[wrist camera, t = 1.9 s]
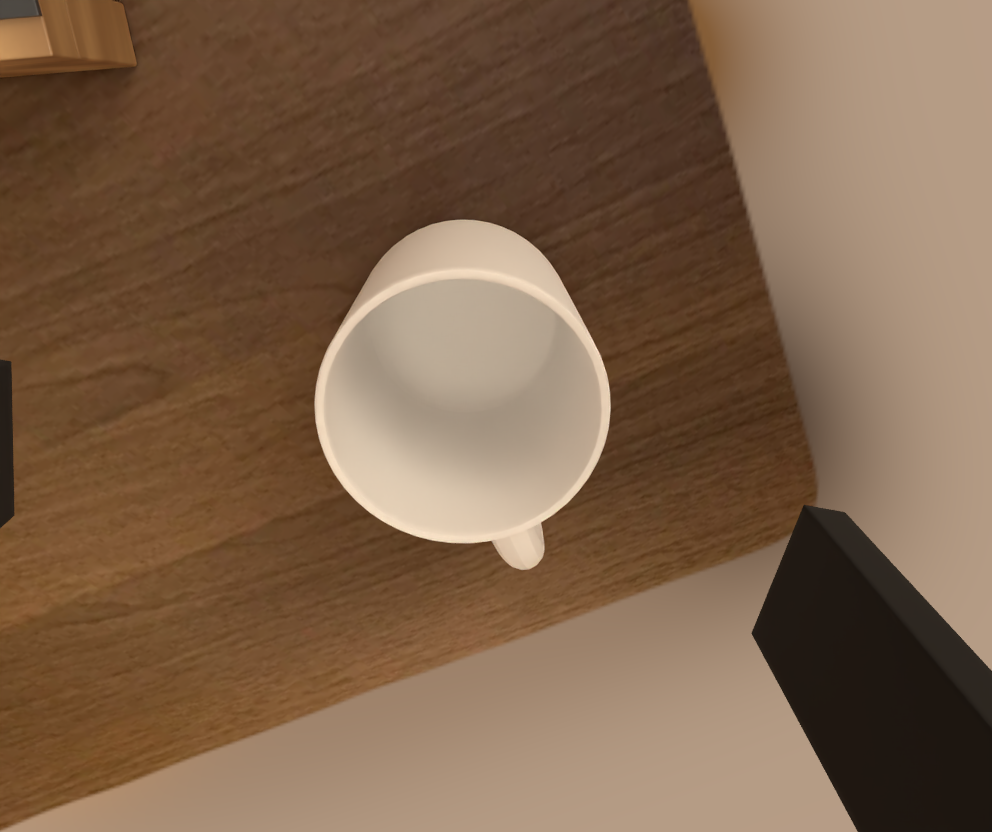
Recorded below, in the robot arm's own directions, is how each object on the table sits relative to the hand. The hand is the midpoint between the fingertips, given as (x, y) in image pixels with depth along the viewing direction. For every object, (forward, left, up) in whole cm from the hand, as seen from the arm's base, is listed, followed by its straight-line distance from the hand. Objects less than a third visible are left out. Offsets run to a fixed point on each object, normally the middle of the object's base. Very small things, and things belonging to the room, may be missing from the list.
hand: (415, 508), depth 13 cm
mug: (-1, +4, -19) cm, 19 cm away
